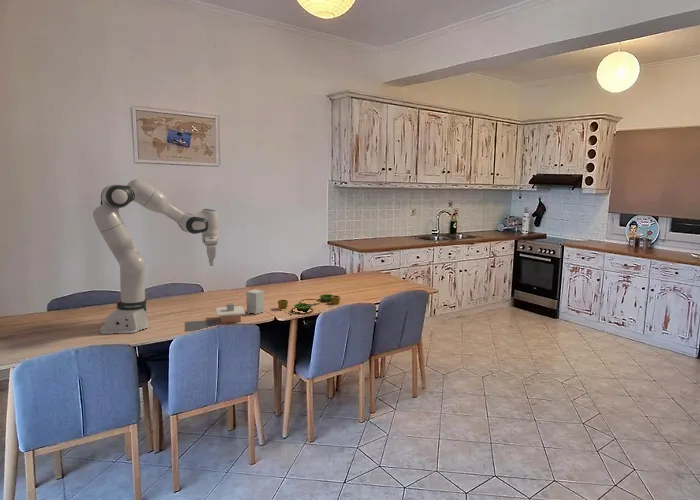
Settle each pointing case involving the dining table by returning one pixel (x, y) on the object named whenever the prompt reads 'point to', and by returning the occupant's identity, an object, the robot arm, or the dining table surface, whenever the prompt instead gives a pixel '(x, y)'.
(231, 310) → the lid
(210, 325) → the mat
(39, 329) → the dining table surface
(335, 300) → the tableware set
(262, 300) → the supplement box
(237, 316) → the brown open box
